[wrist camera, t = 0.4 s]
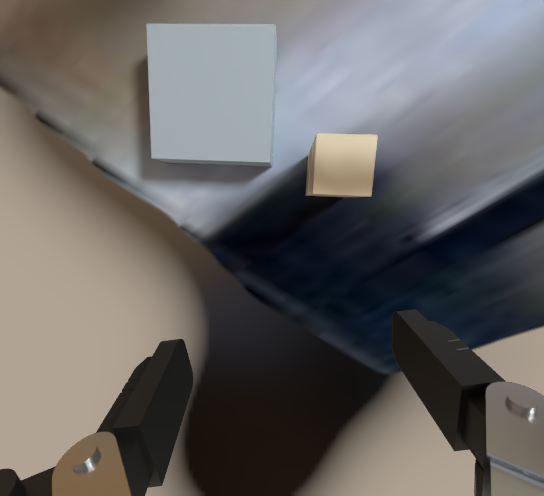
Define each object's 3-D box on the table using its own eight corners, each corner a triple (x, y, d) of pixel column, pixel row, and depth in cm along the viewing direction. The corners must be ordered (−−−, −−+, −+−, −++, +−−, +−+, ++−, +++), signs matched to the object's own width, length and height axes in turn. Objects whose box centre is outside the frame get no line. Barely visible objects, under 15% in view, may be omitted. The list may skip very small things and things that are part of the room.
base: (163, 44, 34) (146, 23, 30) (277, 45, 33) (275, 24, 29) (166, 162, 36) (151, 158, 32) (272, 166, 35) (269, 162, 31)
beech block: (308, 155, 35) (316, 133, 23) (347, 156, 34) (377, 135, 23) (305, 195, 36) (312, 194, 24) (344, 197, 35) (371, 196, 24)
